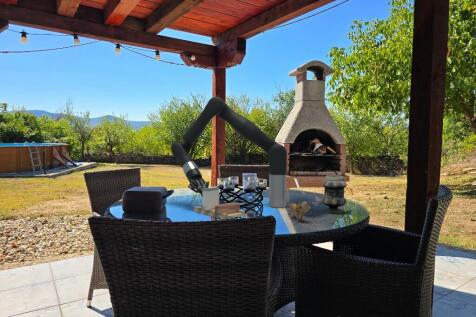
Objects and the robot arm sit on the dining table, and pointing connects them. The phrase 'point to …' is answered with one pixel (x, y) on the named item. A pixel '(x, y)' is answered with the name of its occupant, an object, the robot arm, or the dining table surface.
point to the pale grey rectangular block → (210, 197)
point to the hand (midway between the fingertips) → (206, 198)
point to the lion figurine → (299, 210)
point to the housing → (222, 211)
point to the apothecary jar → (334, 193)
